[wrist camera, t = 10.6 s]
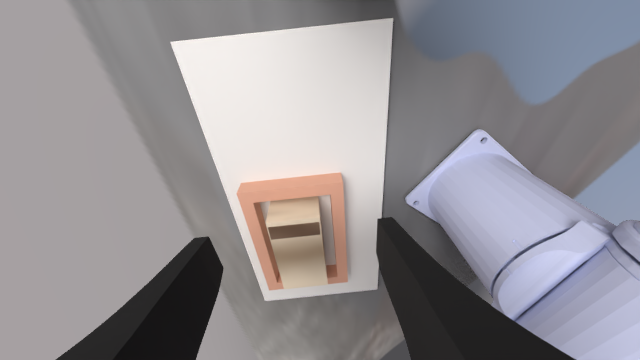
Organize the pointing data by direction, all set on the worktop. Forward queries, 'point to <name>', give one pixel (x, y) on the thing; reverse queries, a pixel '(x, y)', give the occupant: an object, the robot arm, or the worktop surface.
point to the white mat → (299, 125)
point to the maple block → (297, 241)
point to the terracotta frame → (292, 189)
